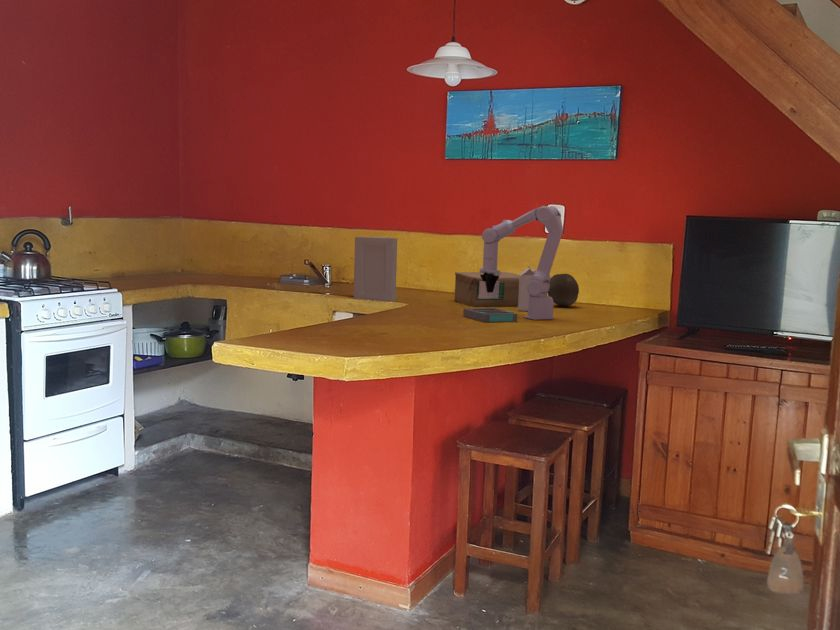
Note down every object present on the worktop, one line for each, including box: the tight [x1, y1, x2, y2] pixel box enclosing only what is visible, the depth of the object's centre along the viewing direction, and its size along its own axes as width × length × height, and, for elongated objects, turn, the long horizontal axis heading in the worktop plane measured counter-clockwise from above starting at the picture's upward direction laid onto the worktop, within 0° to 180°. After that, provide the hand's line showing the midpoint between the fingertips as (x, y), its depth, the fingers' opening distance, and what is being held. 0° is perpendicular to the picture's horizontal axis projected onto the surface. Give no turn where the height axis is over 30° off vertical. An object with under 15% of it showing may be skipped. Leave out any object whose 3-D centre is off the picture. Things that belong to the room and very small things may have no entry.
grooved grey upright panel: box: [353, 236, 398, 302], centre depth 374 cm, size 19×15×28 cm
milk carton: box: [517, 265, 537, 312], centre depth 347 cm, size 7×7×19 cm
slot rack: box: [462, 307, 518, 323], centre depth 315 cm, size 14×18×3 cm
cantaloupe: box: [547, 273, 580, 308], centre depth 366 cm, size 14×14×15 cm
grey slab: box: [479, 281, 499, 299], centre depth 330 cm, size 8×2×7 cm, turn 113°
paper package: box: [454, 271, 520, 308], centre depth 369 cm, size 27×26×14 cm
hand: (488, 292), depth 330 cm, fingers closed on grey slab, 2 cm apart
